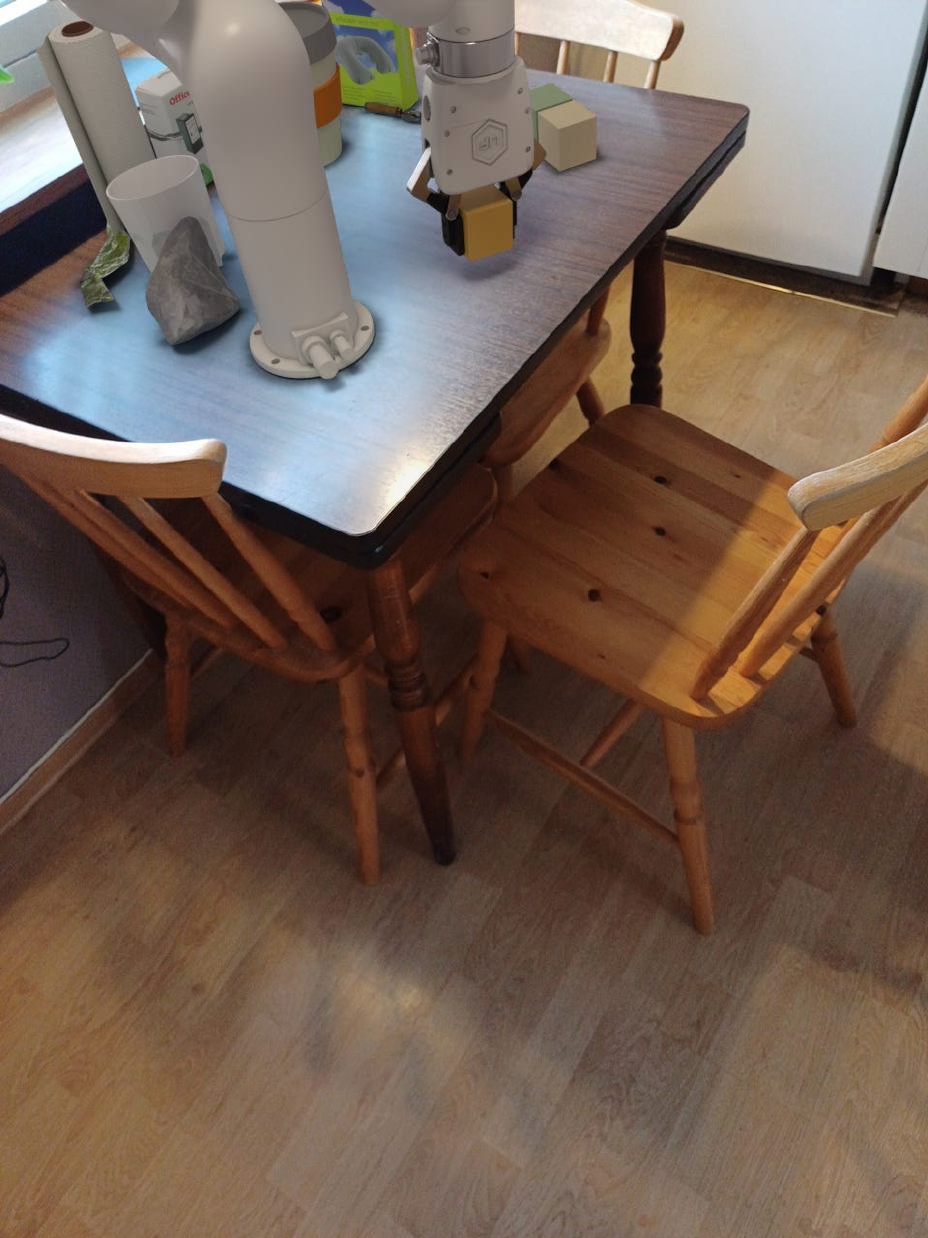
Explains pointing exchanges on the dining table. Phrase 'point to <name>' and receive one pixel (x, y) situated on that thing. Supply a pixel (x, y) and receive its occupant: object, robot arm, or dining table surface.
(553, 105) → the block
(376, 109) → the can opener
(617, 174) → the dining table surface
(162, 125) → the ink box
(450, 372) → the dining table surface
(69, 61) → the paper towel roll
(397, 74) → the box
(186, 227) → the stone
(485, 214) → the ochre block
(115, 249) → the green crumpled strip
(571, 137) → the block
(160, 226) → the cup
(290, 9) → the reusable coffee cup
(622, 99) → the dining table surface
